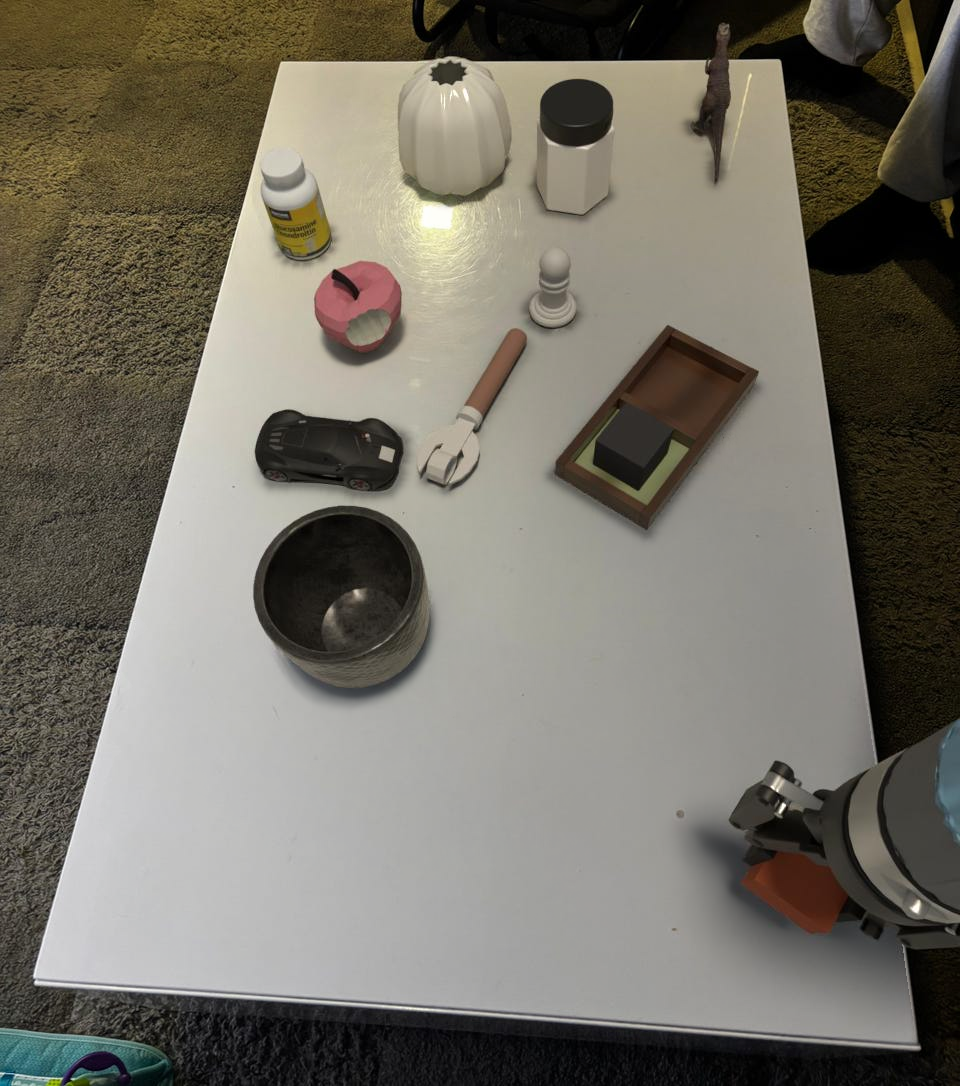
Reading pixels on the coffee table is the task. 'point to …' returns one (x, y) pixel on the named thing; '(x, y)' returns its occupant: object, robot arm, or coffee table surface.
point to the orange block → (798, 890)
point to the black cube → (632, 446)
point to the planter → (344, 595)
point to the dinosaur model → (716, 92)
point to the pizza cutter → (469, 418)
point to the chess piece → (553, 290)
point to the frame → (675, 399)
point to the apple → (358, 305)
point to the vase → (453, 126)
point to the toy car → (328, 450)
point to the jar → (574, 145)
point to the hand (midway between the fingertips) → (794, 875)
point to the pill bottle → (294, 204)
